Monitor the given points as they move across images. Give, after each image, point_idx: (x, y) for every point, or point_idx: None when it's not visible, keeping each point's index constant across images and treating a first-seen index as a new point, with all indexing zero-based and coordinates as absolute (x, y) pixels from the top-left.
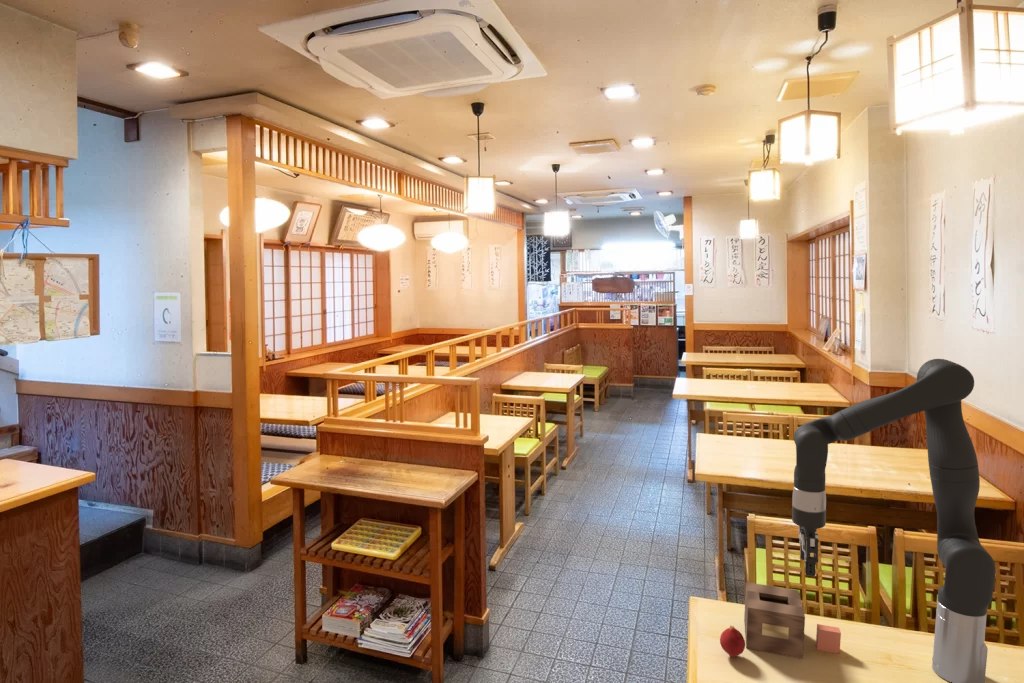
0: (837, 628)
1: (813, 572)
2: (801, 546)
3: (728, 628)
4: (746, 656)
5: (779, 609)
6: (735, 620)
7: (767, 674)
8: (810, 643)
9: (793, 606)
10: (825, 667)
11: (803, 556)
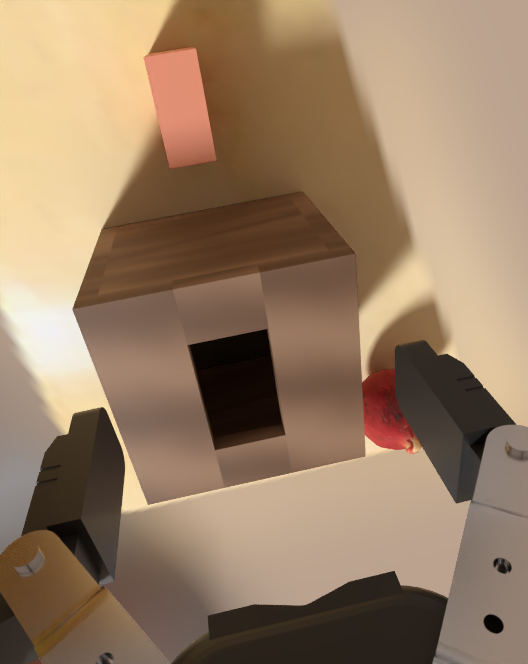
0: (156, 66)
1: (468, 371)
2: (111, 572)
3: (401, 447)
4: (361, 348)
5: (332, 359)
6: None
7: (430, 284)
8: (179, 169)
9: (273, 311)
10: (322, 107)
11: (115, 467)
